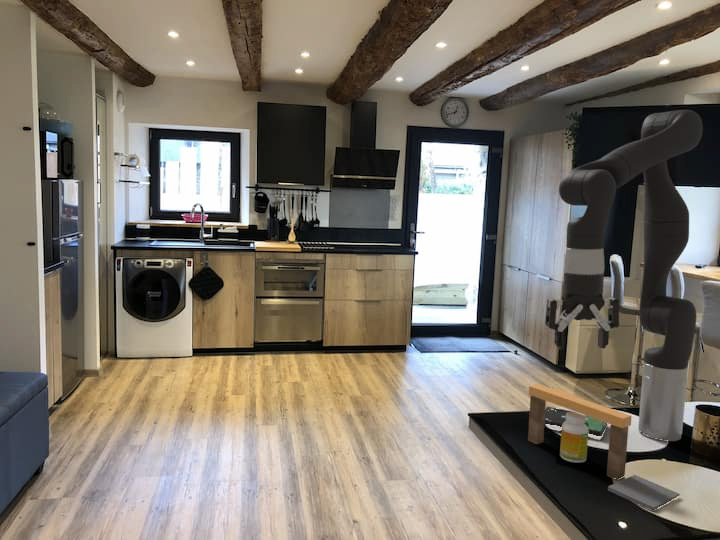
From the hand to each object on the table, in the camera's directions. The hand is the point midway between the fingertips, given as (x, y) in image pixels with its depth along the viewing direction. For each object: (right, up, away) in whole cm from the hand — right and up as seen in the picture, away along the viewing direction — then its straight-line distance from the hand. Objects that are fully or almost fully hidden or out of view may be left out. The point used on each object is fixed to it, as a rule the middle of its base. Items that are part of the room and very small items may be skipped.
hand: (580, 348), depth 119 cm
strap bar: (+1, -14, +5) cm, 14 cm away
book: (+8, -27, -9) cm, 29 cm away
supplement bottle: (+1, -25, +6) cm, 26 cm away
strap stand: (+1, -25, +6) cm, 25 cm away
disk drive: (+7, -23, +24) cm, 34 cm away
